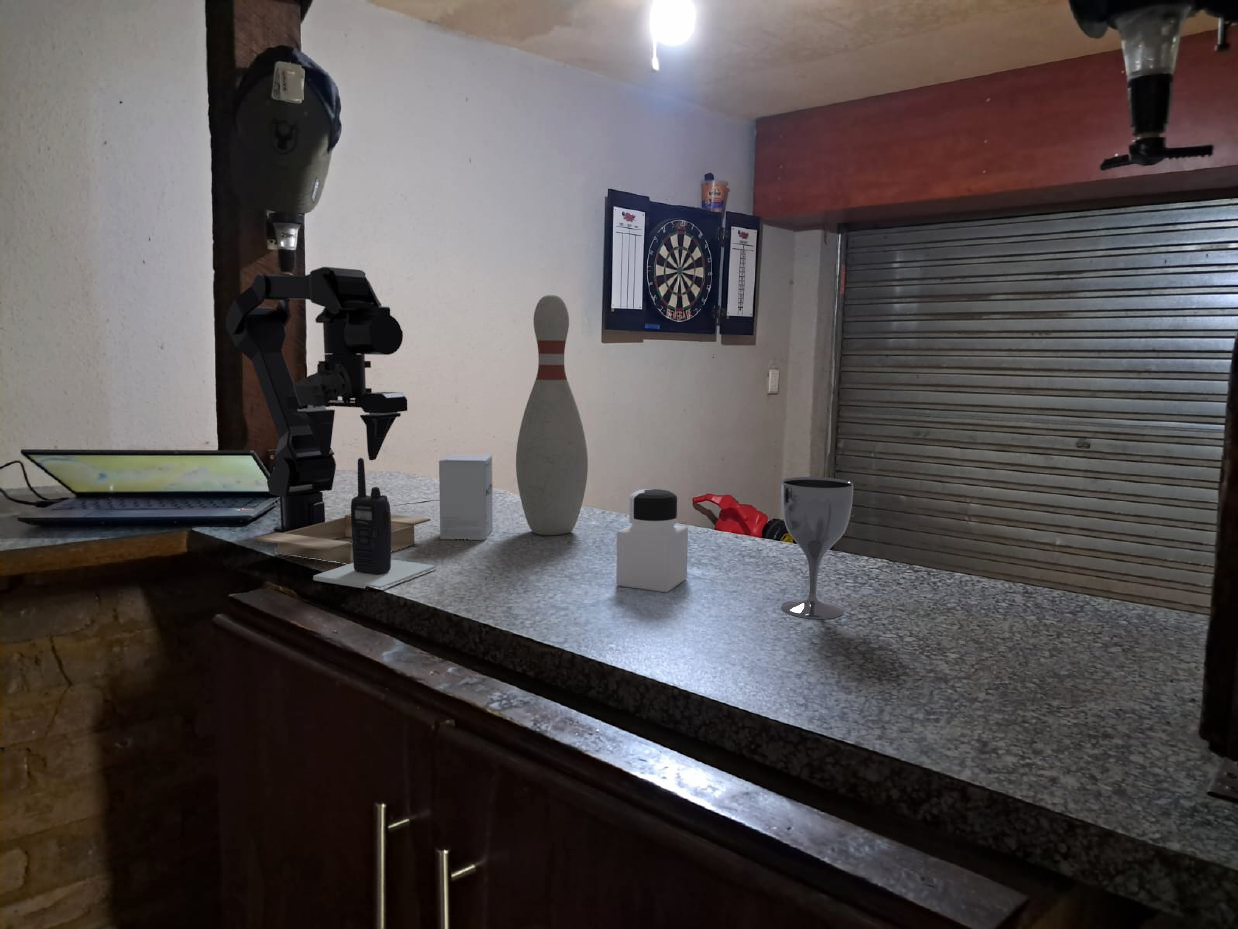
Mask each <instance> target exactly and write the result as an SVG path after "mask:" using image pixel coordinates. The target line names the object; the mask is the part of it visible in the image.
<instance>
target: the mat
mask: <svg viewBox="0 0 1238 929" xmlns="http://www.w3.org/2000/svg"><path fill="white" fill-rule="evenodd" d="M434 568H436V569H437V565H431V564H425V563H419V562H413V561H412V562H411V561H405V560H399V559H398V560H396V559H392V558H391V568H390V570H389V571H388V572H385V573H382V574H379V575H377V574H375V573H366V572H357V571H355V570H354V564H353V563H351V564H348V565H342V566H339V567H336V568H332V569H330V570H326V571H324V572H321V573H317V574H315V575H312V576H313V577H312V580H313V581H317V582H321V583H322V582H323V583H327V584H335V585H340V586H348V587H352V588H360V589H365V588H366V586H372V587H378V588H381V587H384V586H386V585H391V584H393V583H396V582H400V581H402V580H405V579H407V578H411V577H413V576H415V575H419V574H422V573H423V572H428V571H430V570H431V569H434ZM365 590H366V589H365Z"/></svg>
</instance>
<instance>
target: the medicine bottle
mask: <svg viewBox="0 0 1238 929" xmlns="http://www.w3.org/2000/svg"><path fill="white" fill-rule="evenodd" d="M677 519H678V495H676V494H675V493H674V492H673V491H669V490H666V489H660V488H646V489H639V490H636V491H634V492H632V493H631V494H630V496H629V523H630V524H631V525H628V526H626V527H625V528H623V529H620V530H618V531H617V532H616V573H615V574H616V582H615V584H616V585H617V587H622V588H623V587H625V588H630V589H639V590H645V591H653V592H660V593H668V592H670V591H671V590H673V589H674V588H676V587H678V585H681V583H682V582H685V581H686V580H687V578H688V547H689V546H688V545H689V542H688V541H689V536H688V535H689V528H688V526H686V525H685V526H684V525H678V524H677V522H678V520H677Z"/></svg>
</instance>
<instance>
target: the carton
mask: <svg viewBox="0 0 1238 929" xmlns="http://www.w3.org/2000/svg"><path fill="white" fill-rule="evenodd" d="M431 520H432V519H431V518H428V517H427V518H426V517H418V516H410V515H400V514H393V513H391V551H394V552H397V551H399V550H398V549H400V550H402V549H401V548H404V549H407V548H409V547H408V546H410V545H413V544H415V526H417V525H421V524H424V523H428V522H430V521H431ZM340 537H341V538H344V537H348V538H352V527H351V513H349V514H345V515H344V516H343V517H340V518H336V519H332V520H328V521H325V522H324V523H320V524H316V525H312V526H308V527H304V528H300V529H296V530H292V531H288V532H280V531H275V532H273V533H269V534H265V535H261V536H256V537H254V541H258V542H260V541H261V542H265V543H273V544H277V554H278V553H281V554H286V555H297V556H301V557H307V558H316V559H321V560H326V561H336V562H340V563H346V564H351V563H353V548H352V541H345V540H344V541H343V540H338V539H341V538H340ZM337 538H338V539H337ZM415 545H416V544H415ZM413 546H414V545H413ZM406 547H407V548H406ZM410 547H411V546H410ZM396 550H397V551H396Z"/></svg>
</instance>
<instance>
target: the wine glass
mask: <svg viewBox="0 0 1238 929" xmlns="http://www.w3.org/2000/svg"><path fill="white" fill-rule="evenodd" d="M853 498H854V482H852V481H849V480H846V479H841V478H840V479H839V478H832V477H820V476H798V477H797V476H796V477H795V476H794V477H788V478H784V479H782V481H781V508H782V509H781V510H782V516H783V519H784V520H783V521H784V524H785V527H786V531H787V532H788V534H789V535H790V537H792V539H793V540H794V542H796V544H797V545H798V546H799V548H800V549H801V550H802V552H803V553H804V556H805V558H806V561H807V564H808V573H809V574H808V575H809V592H808V593H809V594H808V597H807V598H806V599H794V600H789V601H786V602H784V603H782V605H781V606H780V608H781V610H782V611H783V612H784V613H786V614H788V615H791V616H794V617H797V618H798V617H799V618H802V619H810V620H811V619H812V620H829V619H835V618H838V617H841V616H843V615H844V614H845V613H844V609H843V607H841V606H839V605H837V604H834V603H831V602H828V601H823V600H819V599H818V597H817V584H818V575H819V570H820V564H821V562H822V560H823V558H824V557H825V555H826V554H827V552H828V551H829V550H830V549H831V548H832V547H833V546H834V545H835V544H836V543H837V542H838V541H839V540H840V539H841V538H842V536H843V535H844V534H845V532H846V530H847V528H848V525H849V522H850V518H851V512H852V508H853Z"/></svg>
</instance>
